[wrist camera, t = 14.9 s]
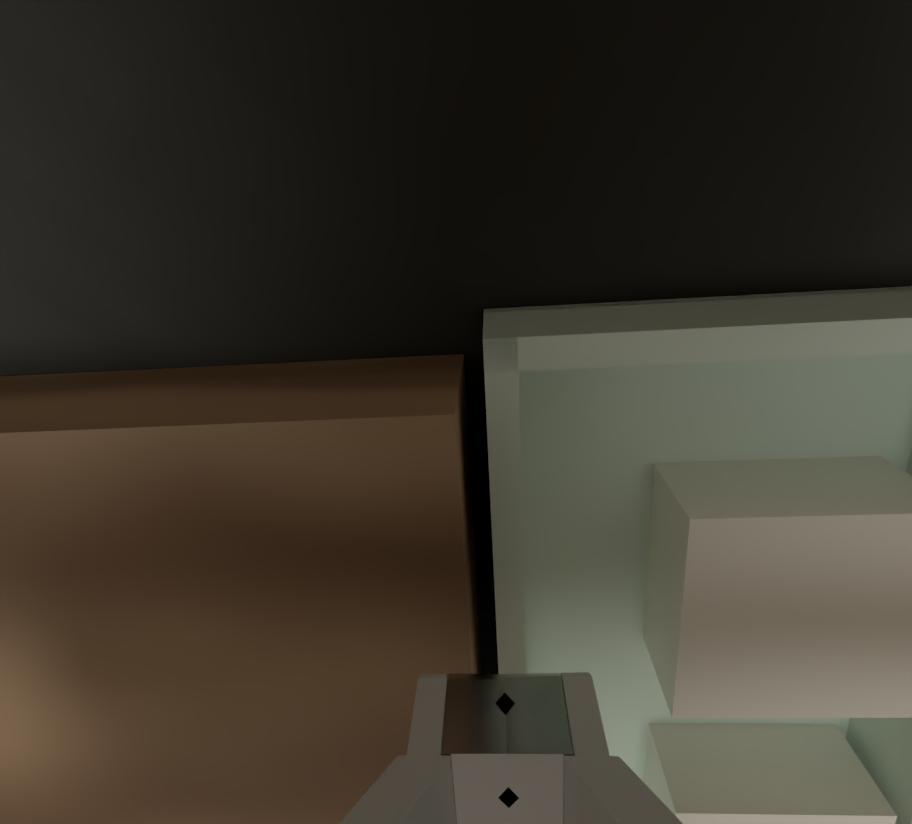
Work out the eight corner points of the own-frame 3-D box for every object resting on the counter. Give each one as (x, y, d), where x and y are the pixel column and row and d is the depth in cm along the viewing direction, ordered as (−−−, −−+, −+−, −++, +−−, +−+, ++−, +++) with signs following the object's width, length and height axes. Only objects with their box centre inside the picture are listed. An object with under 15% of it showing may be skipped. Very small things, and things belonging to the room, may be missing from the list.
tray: (483, 309, 13) (482, 339, 10) (960, 283, 12) (1104, 308, 9) (510, 895, 19) (514, 1012, 17) (815, 901, 19) (873, 1023, 16)
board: (-28, 377, 14) (-219, 441, 10) (463, 353, 13) (454, 414, 9) (151, 870, 20) (74, 1024, 16) (495, 875, 19) (496, 1039, 15)
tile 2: (968, 511, 11) (880, 455, 13) (689, 519, 11) (654, 463, 13) (910, 717, 12) (842, 635, 15) (671, 717, 13) (642, 637, 15)
